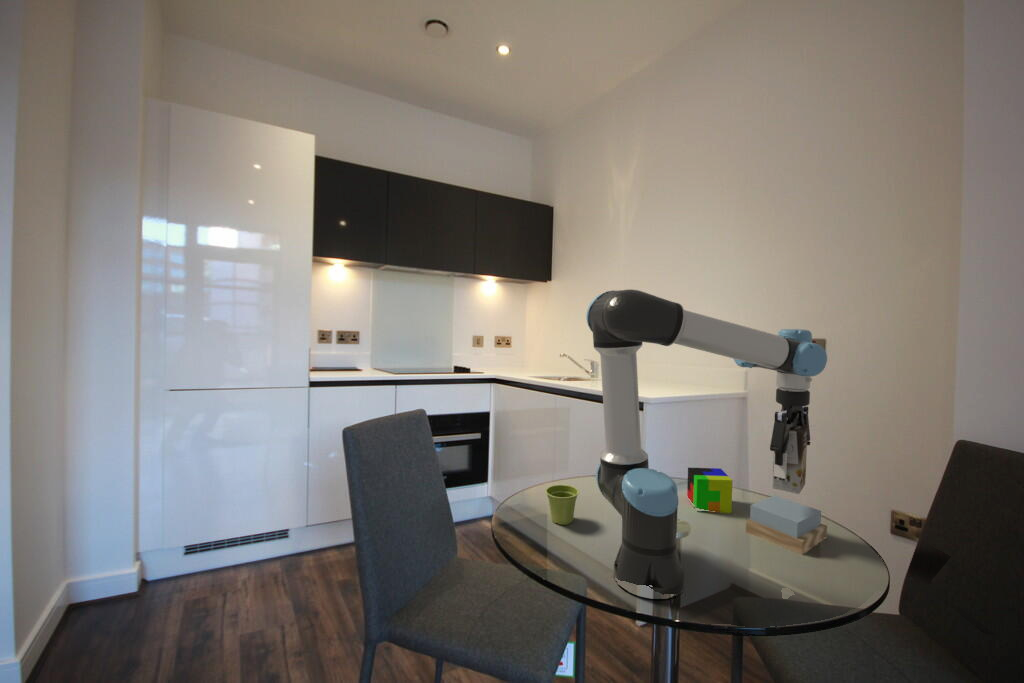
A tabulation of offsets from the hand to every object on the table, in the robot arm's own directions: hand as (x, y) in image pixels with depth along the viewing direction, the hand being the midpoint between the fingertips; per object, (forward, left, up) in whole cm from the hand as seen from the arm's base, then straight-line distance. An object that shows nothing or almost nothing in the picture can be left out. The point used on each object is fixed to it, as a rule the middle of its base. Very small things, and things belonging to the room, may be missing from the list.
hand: (789, 472), depth 122 cm
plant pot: (-42, +42, -17) cm, 62 cm away
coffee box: (0, 0, -4) cm, 4 cm away
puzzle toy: (+1, +23, -18) cm, 29 cm away
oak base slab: (0, 0, -18) cm, 18 cm away
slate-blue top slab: (0, +1, -14) cm, 14 cm away
